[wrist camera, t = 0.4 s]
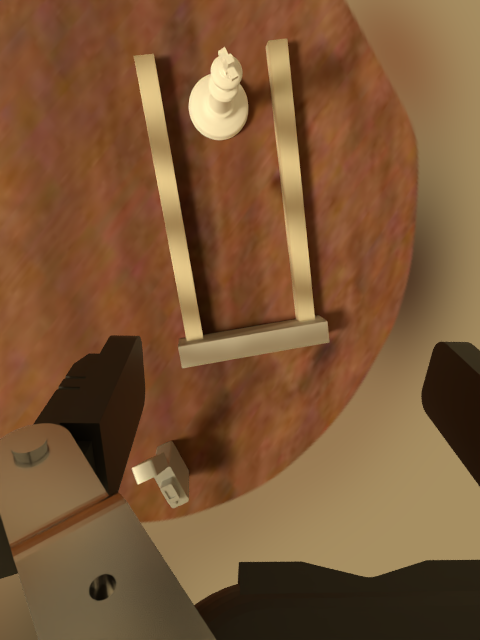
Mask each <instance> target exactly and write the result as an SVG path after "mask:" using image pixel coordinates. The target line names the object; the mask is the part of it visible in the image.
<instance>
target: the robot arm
mask: <svg viewBox="0 0 480 640" xmlns="http://www.w3.org/2000/svg"><path fill="white" fill-rule="evenodd" d="M421 397H422V404H423V408H424V410H425V412H426V414H427V415H428V416H429V418H430V419H431V420H432V422H433V423H434V425H435V426H436V427H437V428H438V430H439V431H440V433H441V434H442V435H443V437H444V438H445V440H446V441H447V442H448V444H449V445H450V446H451V448H452V449H453V451H454V452H455V453H456V455H457V456H458V457H459V459H460V460H461V461H462V463H463V464H464V465H465V467H466V468H467V470H468V471H469V472H470V474H471V475H472V476H473V478H474V479H475V480H476V482H477V483H478V485H479V486H480V351H479V350H478V349H477V348H476V347H475V346H474V345H472V344H471V343H468V342H439V343H437V344H436V345H435V347H434V349H433V352H432V356H431V359H430V363H429V366H428V370H427V374H426V377H425V381H424V385H423V388H422V396H421ZM144 401H145V379H144V365H143V352H142V342H141V338H140V336H110V337H109V338H108V340H107V342H106V344H105V345H104V347H103V349H102V351H101V352H100V354H88V355H86V356H85V357H83V358H82V359H80V360H79V361H77V362H76V363H74V364H73V366H72V367H71V369H70V370H69V372H68V373H67V375H66V378H65V379H63V381H62V382H61V384H60V385H59V389H57V390H56V391H55V393H54V394H53V396H52V397H51V399H50V400H49V402H48V403H47V405H46V406H45V408H44V409H43V411H42V412H41V414H40V415H39V417H38V418H37V420H36V421H35V423H34V424H33V425H30V426H26V427H23V428H20V429H17V430H15V431H13V432H11V433H9V434H7V435H6V436H4V437H3V438H1V439H0V579H1V578H4V577H7V576H11V575H14V574H17V573H18V574H19V578H20V581H21V584H22V587H23V591H24V594H25V597H26V601H27V604H28V607H29V610H30V614H31V617H32V620H33V624H34V627H35V630H36V633H37V637H38V640H480V560H427V561H423V562H421V563H417V564H414V565H411V566H408V567H404V568H401V569H398V570H395V571H392V572H389V573H386V574H382V575H379V576H376V577H363V576H358V575H354V574H350V573H346V572H342V571H338V570H334V569H329V568H325V567H321V566H317V565H313V564H309V563H305V562H239V571H238V584H236V585H233V586H230V587H227V588H224V589H222V590H220V591H218V592H215V593H213V594H211V595H209V596H208V597H206V598H205V599H203V600H201V601H200V602H198V603H197V604H195V605H193V603H192V602H191V600H190V598H189V597H188V595H187V594H186V592H185V591H184V590H183V588H182V587H181V585H180V583H179V582H178V580H177V578H176V577H175V575H174V574H173V572H172V571H171V569H170V568H169V566H168V565H167V563H166V562H165V560H164V559H163V557H162V555H161V554H160V552H159V551H158V549H157V548H156V546H155V545H154V543H153V542H152V540H151V538H150V537H149V535H148V534H147V532H146V531H145V529H144V528H143V526H142V525H141V523H140V522H139V520H138V518H137V517H136V515H135V514H134V512H133V511H132V509H131V508H130V506H129V505H128V503H127V502H126V500H125V499H124V497H123V496H122V495H121V494H120V493H118V490H119V487H120V484H121V481H122V477H123V474H124V471H125V467H126V464H127V461H128V457H129V454H130V451H131V447H132V444H133V441H134V438H135V434H136V431H137V428H138V424H139V421H140V418H141V414H142V411H143V407H144Z"/></svg>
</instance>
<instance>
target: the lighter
mask: <svg viewBox="0 0 480 640" xmlns="http://www.w3.org/2000/svg"><path fill="white" fill-rule="evenodd" d="M132 471H133V474H134V477H135V479H136V482H137V484H140V483H142V482H144V481H146V480H149V479H151V478H153V477H154V478H155V480H156V482H157V484H158V485H159V487H160V490H161V492H162V493H163V495H164V497H165V498H166V500H167V502H168V504H170V506H171V507H172V508H175V507H177V506H180V505H182V504H184V503H186V502H188V500H189V470H188V468H187V467H186V465H185V463H184V461H183V459H182V458H181V456H180V454H179V452H178V450H177V448H176V447H175V445H174V443H173V442H172V441H169V442H167V443H165V444H163V445H161V446H158V447H157V451H156V456H154V457H151V458H149V459H147V460H145V461H143V462H142V463H140V464H138V465H136V466H135V467H133V468H132Z"/></svg>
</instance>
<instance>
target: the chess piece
mask: <svg viewBox="0 0 480 640" xmlns="http://www.w3.org/2000/svg"><path fill="white" fill-rule="evenodd" d="M218 55H219V56H218V57H217V58H216V59H215V60H214V62H213V63H212V66H211V74H209V75H207V76H205V77H203V78H202V79H200V80H199V81H198V82H197V84H196V85H195V86H194V88H193V90H192V92H191V95H190V99H189V113H190V117H191V120H192V122H193V124H194V126H195V127H196V128H197V130H198V131H199V132H200V133H202V134H203V135H204V136H206V137H208V138H211V139H214V140H225V139H229V138H231V137H233V136H235V135H236V134H237V133H239V132H240V130H241V129H242V128H243V126H244V125H245V122H246V120H247V116H248V100H247V96H246V93H245V91H244V89H243V87H242V86H241V85H240V81H241V79H242V67H241V64H240V63H239V61H238V60H237V59H236V58H235V57H234V56H232V55H231V54H229V55H228V53H227V50H226V48H225V47H224V48H223V49H221V50H219V51H218Z"/></svg>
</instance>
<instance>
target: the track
mask: <svg viewBox="0 0 480 640" xmlns="http://www.w3.org/2000/svg"><path fill="white" fill-rule="evenodd" d="M266 54H267V63H268V72H269V81H270V89H271V98H272V107H273V116H274V125H275V134H276V143H277V152H278V161H279V170H280V179H281V188H282V197H283V206H284V215H285V224H286V233H287V242H288V251H289V260H290V269H291V278H292V287H293V296H294V305H295V314H296V319H293V320H287V321H281V322H276V323H270V324H264V325H258V326H252V327H246V328H240V329H235V330H229V331H223V332H217V333H211V334H205V335H203V332H202V327H201V321H200V315H199V310H198V304H197V298H196V292H195V287H194V281H193V275H192V269H191V264H190V258H189V252H188V247H187V241H186V235H185V229H184V224H183V218H182V212H181V206H180V201H179V195H178V189H177V184H176V178H175V172H174V166H173V161H172V155H171V149H170V143H169V138H168V132H167V126H166V121H165V115H164V109H163V103H162V98H161V92H160V86H159V80H158V75H157V69H156V63H155V58H154V54H147V55H138V56H134V60H135V65H136V71H137V76H138V81H139V87H140V92H141V97H142V103H143V108H144V114H145V119H146V124H147V130H148V135H149V140H150V146H151V151H152V157H153V162H154V167H155V173H156V178H157V183H158V189H159V194H160V200H161V205H162V210H163V216H164V221H165V226H166V232H167V237H168V243H169V248H170V253H171V259H172V264H173V269H174V275H175V280H176V286H177V291H178V296H179V302H180V307H181V312H182V318H183V323H184V329H185V334H186V338H182V339H179V344H178V349H179V354H180V359H181V365H182V368H186V367H192V366H198V365H203V364H209V363H215V362H220V361H226V360H232V359H237V358H243V357H249V356H254V355H260V354H266V353H271V352H277V351H283V350H288V349H294V348H300V347H305V346H311V345H317V344H322V343H328V342H329V333H328V322H327V321H326V320H325V319H324V318H322V317H321V316H319V315H317V316H315V314H314V304H313V294H312V284H311V274H310V264H309V254H308V243H307V233H306V223H305V213H304V203H303V193H302V183H301V173H300V163H299V153H298V142H297V132H296V122H295V112H294V102H293V92H292V82H291V72H290V62H289V52H288V41H287V39H279V40H270V41H268V43H267V46H266Z"/></svg>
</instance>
